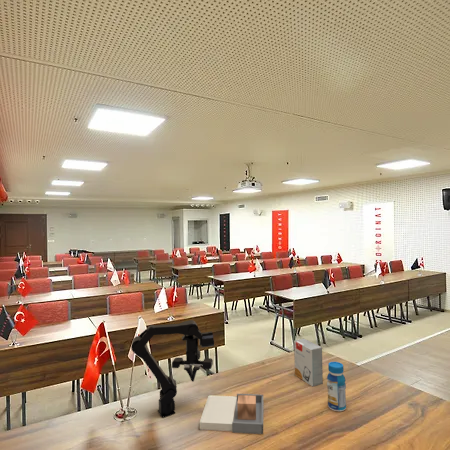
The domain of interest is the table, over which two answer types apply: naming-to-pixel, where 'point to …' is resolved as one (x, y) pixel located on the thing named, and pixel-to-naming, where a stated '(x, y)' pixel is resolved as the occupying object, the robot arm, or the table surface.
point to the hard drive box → (308, 362)
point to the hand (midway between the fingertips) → (192, 381)
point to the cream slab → (218, 413)
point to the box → (250, 425)
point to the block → (246, 407)
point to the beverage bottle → (336, 387)
